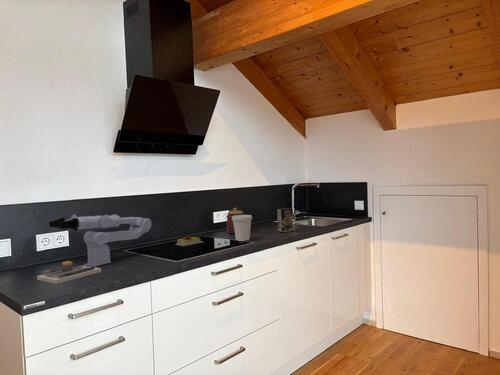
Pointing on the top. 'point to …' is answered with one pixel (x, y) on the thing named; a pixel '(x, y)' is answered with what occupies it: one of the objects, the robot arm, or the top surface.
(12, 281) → the top surface
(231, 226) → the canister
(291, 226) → the coffee box
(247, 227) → the cup
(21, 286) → the top surface
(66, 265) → the breaker lever
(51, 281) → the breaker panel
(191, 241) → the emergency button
